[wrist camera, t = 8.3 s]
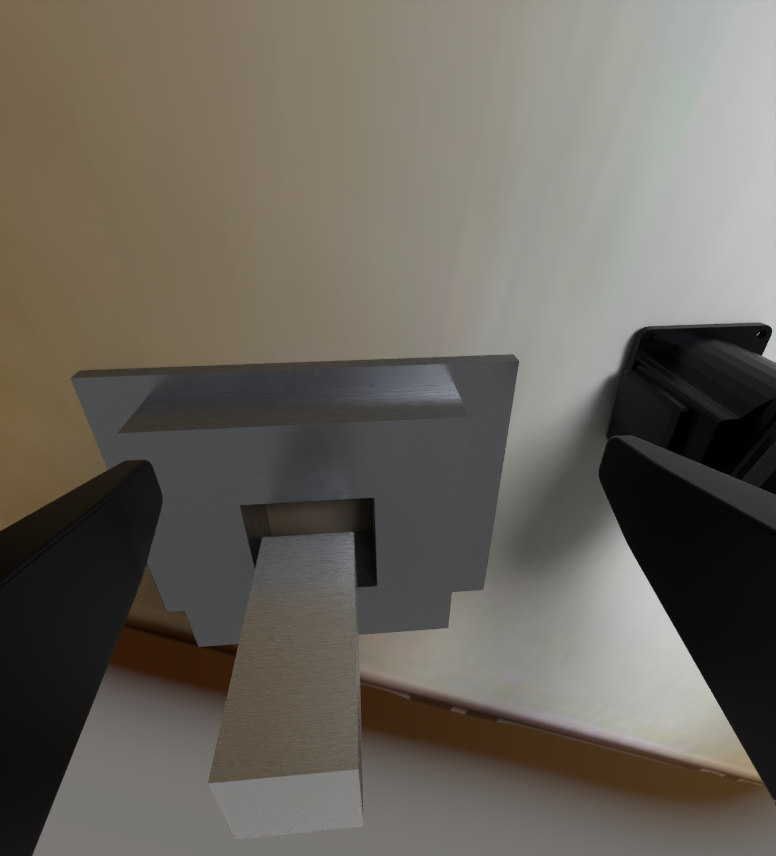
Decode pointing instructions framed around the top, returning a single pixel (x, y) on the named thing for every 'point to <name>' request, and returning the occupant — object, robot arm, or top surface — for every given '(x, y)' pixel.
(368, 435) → the stand base
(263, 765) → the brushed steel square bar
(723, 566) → the robot arm
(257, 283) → the top surface
